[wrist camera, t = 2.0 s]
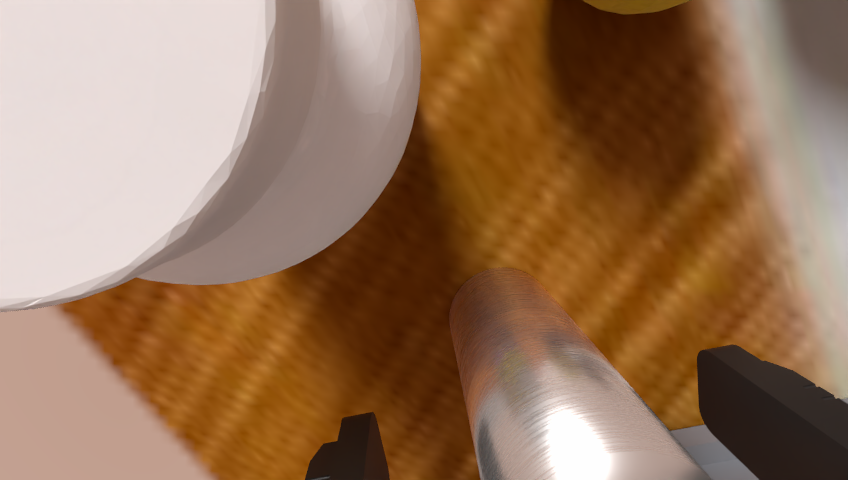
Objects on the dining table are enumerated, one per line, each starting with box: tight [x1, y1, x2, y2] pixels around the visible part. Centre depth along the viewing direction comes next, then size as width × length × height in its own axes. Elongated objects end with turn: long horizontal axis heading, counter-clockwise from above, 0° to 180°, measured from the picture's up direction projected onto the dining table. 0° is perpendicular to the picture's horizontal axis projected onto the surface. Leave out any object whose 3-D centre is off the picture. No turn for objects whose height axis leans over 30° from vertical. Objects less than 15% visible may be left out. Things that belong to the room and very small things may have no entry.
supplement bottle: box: [0, 0, 421, 312], centre depth 9 cm, size 7×7×13 cm
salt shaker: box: [449, 268, 712, 480], centre depth 12 cm, size 4×4×12 cm
